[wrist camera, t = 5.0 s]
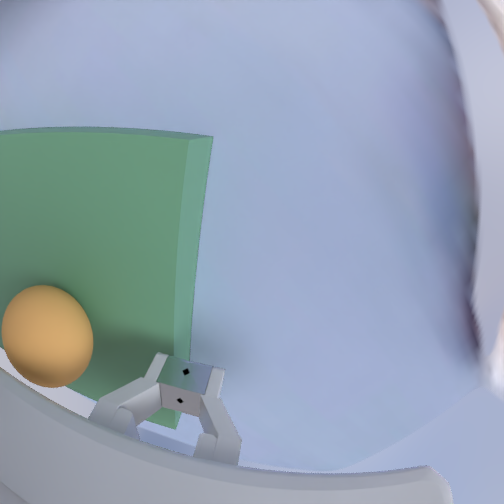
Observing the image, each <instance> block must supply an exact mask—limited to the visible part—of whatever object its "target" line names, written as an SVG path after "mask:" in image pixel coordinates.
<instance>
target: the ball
mask: <svg viewBox="0 0 504 504" xmlns="http://www.w3.org/2000/svg"><path fill="white" fill-rule="evenodd" d="M2 341H3V346H4V349H5V352H6V354H7V357H8V359H9V360H10V362H11V364H12V365H13V366H14V368H15V369H16V370H17V371H18V372H19V373H20V374H21V375H22V376H23V377H24V378H26V379H27V380H29V381H30V382H32V383H34V384H37V385H40V386H43V387H49V388H55V387H62V386H66V385H68V384H70V383H72V382H73V381H75V380H77V379H78V378H79V377H80V376H81V375H82V374H83V372H84V371H85V370H86V368H87V366H88V364H89V362H90V359H91V356H92V352H93V332H92V328H91V324H90V321H89V319H88V317H87V314H86V313H85V311H84V309H83V308H82V306H81V305H80V304H79V303H78V301H77V300H76V299H75V298H73V297H72V296H71V295H70V294H68V293H67V292H65V291H63V290H61V289H59V288H56V287H53V286H48V285H36V286H32V287H29V288H26V289H24V290H23V291H21V292H20V293H18V294H17V295H16V296H15V297H14V298H13V299H12V300H11V302H10V303H9V305H8V306H7V308H6V311H5V313H4V317H3V321H2Z"/></svg>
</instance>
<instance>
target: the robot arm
mask: <svg viewBox="0 0 504 504" xmlns="http://www.w3.org/2000/svg"><path fill="white" fill-rule="evenodd" d="M224 373H225V369H223V368H218V367H214V366H210V365H206V364H201V363H197V362H193V361H187V360H184V359H181V358H177V357H174V356H170V355H167V354H163V353H160V352H158V353H157V354H156V355H155V357H154V359H153V361H152V363H151V365H150V367H149V369H148V371H147V373H146V375H145V377H144V378H142V377H140V378H138V379H136V380H134V381H132V382H130V383H129V384H127V385H125V386H123V387H121V388H119V389H117V390H115V391H113V392H111V393H109V394H107V395H105V396H103V397H101V398H100V399H99V400H98V402H97V404H96V405H95V407H94V409H93V411H92V413H91V414H90V416H89V418H88V419H87V418H85V417H82V416H80V415H78V414H76V413H74V412H72V411H71V410H68V409H67V408H65V407H63V406H61V405H59V404H57V403H55V402H54V401H52V400H50V399H48V398H47V397H45V396H43V395H42V394H40V393H38V392H37V391H35V390H33V389H32V388H30V387H29V386H27V385H26V384H24V383H22V382H21V381H19V380H18V379H16V378H15V377H14V376H12V375H11V374H9V373H8V372H6V371H5V370H4V369H2V368H1V367H0V504H453V498H452V492H451V488H450V485H449V483H448V482H447V481H446V480H445V479H444V478H443V477H442V476H441V475H440V474H439V473H438V472H437V471H436V470H434V469H433V468H432V467H430V466H427V465H426V466H417V467H411V468H404V469H397V470H388V471H378V472H363V473H335V474H333V473H331V474H330V473H329V474H328V473H326V474H324V473H297V472H283V471H273V470H264V469H257V468H249V467H243V466H238V460H239V454H240V448H241V442H242V440H241V438H240V436H239V434H238V432H237V430H236V428H235V426H234V424H233V422H232V420H231V418H230V416H229V414H228V412H227V410H226V408H225V406H224V404H223V402H222V400H221V399H220V395H221V390H222V384H223V379H224ZM162 407H164V408H168V409H172V410H176V411H180V412H183V413H186V414H190V415H193V416H197V417H199V419H200V422H201V425H202V428H203V430H204V433H202V434H200V435H199V438H198V442H197V445H196V448H195V452H194V455H193V456H190V455H186V454H182V453H178V452H175V451H171V450H168V449H165V448H161V447H158V446H155V445H152V444H149V443H146V442H143V441H140V438H139V434H138V431H137V427H136V426H137V425H139V424H140V423H141V422H143V421H144V420H146V419H147V418H148V417H150V416H151V415H153V414H154V413H155V412H157V411H158V410H159V409H161V408H162Z"/></svg>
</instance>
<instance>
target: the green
mask: <svg viewBox="0 0 504 504" xmlns="http://www.w3.org/2000/svg"><path fill="white" fill-rule="evenodd" d="M212 142H213V136H206V135H198V134H190V133H181V132H171V131H161V130H149V129H134V128H114V127H47V128H28V129H15V130H4V131H0V347H1V348H2V349H4V346H3V341H2V321H3V317H4V313H5V311H6V308H7V306H8V305H9V303H10V302H11V300H12V299H13V298H14V297H15V296H16V295H17V294H18V293H20V292H21V291H23V290H24V289H26V288H29V287H32V286H36V285H48V286H53V287H56V288H59V289H61V290H63V291H65V292H67V293H68V294H70V295H71V296H72V297H73V298H75V299H76V300H77V301H78V303H79V304H80V305H81V306H82V308H83V309H84V311H85V313H86V314H87V317H88V319H89V321H90V324H91V328H92V332H93V352H92V356H91V359H90V362H89V364H88V366H87V368H86V370H85V371H84V372H83V374H82V375H81V376H80V377H79V378H78V379H77V380H75V381H73V382H72V383H70V384H68V385H66V387H68V388H70V389H72V390H74V391H76V392H78V393H80V394H82V395H84V396H87V397H89V398H91V399H93V400H95V401H98V400H99V399H100V398H101V397H103V396H105V395H107V394H109V393H111V392H113V391H115V390H117V389H119V388H121V387H123V386H125V385H127V384H129V383H130V382H132V381H134V380H136V379H138V378H140V377H142V378H144V377H145V375H146V373H147V371H148V369H149V367H150V365H151V363H152V361H153V359H154V357H155V355H156V354H157V353H158V352H160V353H163V354H167V355H170V356H174V357H177V358H181V359H184V360H187V361H189V359H190V341H191V326H192V312H193V300H194V288H195V277H196V267H197V257H198V247H199V238H200V229H201V221H202V213H203V205H204V197H205V190H206V182H207V175H208V168H209V162H210V155H211V149H212ZM4 350H5V349H4ZM181 413H182V412H180V411H176V410H172V409H168V408H164V407H162V408H161V409H159V410H158V411H157V412H155V413H154V414H153V415H151V416H150V417H148V418H147V419H146V420H147V421H150V422H153V423H156V424H159V425H162V426H165V427H169V428H172V429H175V430H176V427H177V424H178V422H179V419H180V416H181Z"/></svg>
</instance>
